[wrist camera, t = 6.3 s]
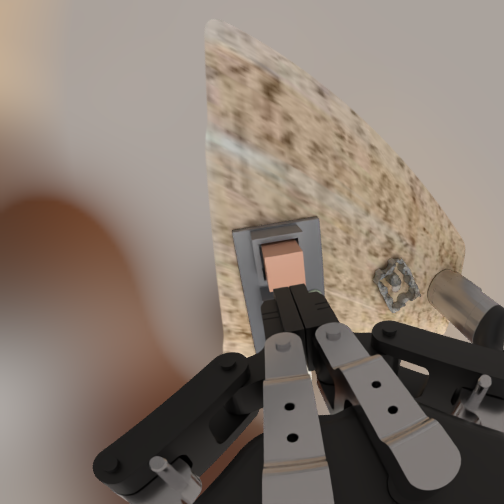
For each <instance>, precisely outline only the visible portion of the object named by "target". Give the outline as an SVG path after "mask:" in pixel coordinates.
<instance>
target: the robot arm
mask: <svg viewBox="0 0 504 504" xmlns="http://www.w3.org/2000/svg"><path fill="white" fill-rule="evenodd" d="M273 293H274V299H272V300H266V301H264V302H263V304H262V305H261V307H260V308H261V314H262V320H263V327H264V333H265V339H266V342H265V346H264V348H263V349H262V350H261V351H260V352H258V353H257V354H255V355H253V356H251V357H248V358H246V357H245V356H244V355H242V354H240V353H235V352H231V353H225V354H222V355H220V356H218V357H216V358H215V359H214V360H212V361H211V362H210V363H209V364H208V365H207V366H206V367H205V368H204V369H202V370H201V371H200V372H199V373H198V374H197V375H196V376H194V377H193V378H192V379H191V380H190V381H189V382H187V383H186V384H185V385H184V386H183V387H182V388H181V389H180V390H178V391H177V392H176V393H175V394H173V395H172V396H171V397H170V398H169V399H167V400H166V401H165V402H164V403H163V404H162V405H160V406H159V407H158V408H157V409H155V410H154V411H153V412H152V413H151V414H149V415H148V416H147V417H146V418H144V419H143V420H142V421H141V422H139V423H138V424H137V425H136V426H134V427H133V428H132V429H130V430H129V431H128V432H127V433H126V434H124V435H123V436H121V437H120V438H119V439H118V440H116V441H115V442H114V443H112V444H111V445H110V446H108V447H107V448H106V449H104V450H103V451H102V452H100V453H99V454H98V455H97V457H96V458H95V460H94V462H93V471H94V474H95V476H96V477H97V478H98V479H99V480H100V481H101V482H102V483H104V484H105V485H107V486H108V487H109V488H110V489H111V490H112V491H113V492H115V493H116V494H117V495H119V496H120V497H122V498H123V499H125V500H127V501H128V502H129V503H130V504H504V350H503V346H504V308H503V307H502V306H500V305H499V304H498V303H496V302H495V301H494V300H493V299H491V298H490V297H488V296H487V295H486V294H484V293H483V292H482V290H481V288H479V287H478V286H476V285H475V284H473V283H472V282H471V281H469V280H468V279H466V278H465V277H464V276H462V275H461V274H459V273H458V272H453V271H452V270H449V269H446V270H443V271H441V272H440V273H439V274H438V275H437V276H436V277H435V278H434V279H433V281H432V283H431V285H430V287H429V290H428V300H429V302H430V303H431V305H433V306H434V307H435V308H436V309H437V310H438V311H439V312H440V313H441V314H442V315H443V316H444V317H445V318H446V319H448V320H449V321H450V322H451V323H452V324H453V325H454V326H455V327H456V328H457V329H458V330H459V331H460V332H461V333H462V334H463V335H464V336H465V337H466V338H467V339H468V340H469V341H470V342H471V343H468V342H465V341H461V340H457V339H454V338H450V337H446V336H443V335H440V334H437V333H433V332H430V331H426V330H423V329H419V328H416V327H413V326H409V325H406V324H403V323H399V322H396V321H382V322H379V323H377V324H376V325H375V326H374V327H373V329H372V333H354V332H352V331H351V329H350V328H349V327H348V326H347V325H345V324H342V323H340V322H339V321H338V319H337V317H336V315H335V314H334V312H333V310H332V309H331V307H330V305H329V303H328V302H327V300H326V298H325V297H324V295H322V294H321V293H319V292H317V291H314V292H308V290H307V288H306V286H305V284H304V283H303V284H297V285H292V286H289V287H288V286H287V287H281V288H275V289H273ZM401 360H404V361H407V362H410V363H413V364H416V365H418V366H421V367H424V368H426V369H427V370H428V372H429V375H425V374H422V373H419V372H416V371H413V370H410V369H407V368H404V367H402V366H400V362H401ZM307 368H308V370H307ZM313 370H315V371H316V374H317V385H318V388H319V390H320V392H321V394H322V397H323V399H324V401H325V403H326V406H327V408H328V410H329V412H330V415H318V413H317V408H316V402H315V396H314V392H313V386H312V381H311V377H310V374H308V371H313ZM260 408H263V409H264V433H262V434H260V435H258V436H257V437H255V438H254V439H253V440H251V441H250V442H248V443H247V444H246V445H245V446H244V447H243V448H242V449H241V450H240V451H239V453H238V454H237V455H236V456H235V457H234V459H233V460H232V461H231V462H230V463H229V465H228V466H227V467H226V468H225V469H224V470H223V471H222V473H221V474H220V475H219V476H218V477H217V478H216V479H215V481H214V482H213V483H212V484H211V485H210V486H209V487H208V488H207V489H206V490H205V491H204V492H203V493H202V494H201V495H200V496H199V497H198V498H197V496H198V495H199V493H200V492H201V489H202V484H201V481H200V479H199V477H200V476H201V475H202V474H203V473H204V472H205V471H206V470H207V469H208V468H209V467H210V466H211V465H212V464H213V463H214V462H215V461H216V460H217V459H218V458H219V457H220V456H221V455H222V454H223V453H224V451H226V450H227V448H228V447H229V446H230V445H231V444H232V443H233V442H234V441H235V440H236V439H237V438H238V436H239V435H240V434H241V433H242V432H243V431H244V430H245V428H246V427H247V426H248V425H249V424H250V423H251V422H252V420H253V419H254V418H255V417H256V416H257V414H258V412H259V409H260ZM196 498H197V499H196ZM195 499H196V501H195ZM194 501H195V502H194Z"/></svg>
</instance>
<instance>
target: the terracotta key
mask: <svg viewBox="0 0 504 504" xmlns="http://www.w3.org/2000/svg"><path fill="white" fill-rule="evenodd" d="M261 249H262V255H263V262H264V268H265V274H266V279H267V283H268V287H269V291H270V292H273V289H275V288H281V287H287V286H288V287H289V286H292V285H297V284H303V283H304V284H305V286H306V281H305V270H304V259H303V251H302V249H301V248H300V246H299V245H298V243H297V242H296V241H295V239H288V240H282V241H276V242H270V243H264V244H261Z"/></svg>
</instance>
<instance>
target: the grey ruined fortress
mask: <svg viewBox="0 0 504 504" xmlns="http://www.w3.org/2000/svg"><path fill="white" fill-rule="evenodd" d="M396 262H398V263H399V264H398V270H399V271H400V272H401V273H403V274H404V281H405V282H406V283H407V284H408V285H409V292H407V293H406V294H405V293H401V294H399V296H398V297H397V302H396V303H394V304H393V298H392V297H391V296H389V294H388V291H387V290H388V289H387V287H385V286H384V285H383V284H382V283H381V282H379V281H380V280H382V279H383V278H385V279H386V281H387V282H388V283H389V284H390V285H392V291H393V292H397V291H399V289H400V287H401V285H400V284H401V280H400V278H399V276H398V275H397V274H396V273H394V272H393V270H394V267H396V265H395V263H396ZM385 275H386V276H385ZM373 281H374V282H375V284H376V285H378V287H379V290H380V292H381V294H382V295H383V297H384V300H385V302H386V304H387V306H388V308H389V309H390V311H391V312H392V313H395V312H397V311H399V310H400V308H401V307H403V306H405V305H406V304H405V303H406V302H407V301H408V300H410V301H413V300H414V299H416V298H417V297H418V296H420V297H421V294H420V291H419V288H418V286H417V284H416V283H415V280H414V278H413V276H412V273H411V271H410V269H409V268H408V266H407V265H406V264H405V262H404V261H403V260H402V258H401V260H399V259H393V258H390V259H389V260H388V266H387V268H386V269H384V270H380V269H377V270H376V271H375V277H374V279H373Z"/></svg>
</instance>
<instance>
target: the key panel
mask: <svg viewBox="0 0 504 504" xmlns="http://www.w3.org/2000/svg"><path fill="white" fill-rule="evenodd" d="M232 234H233V239H234V244H235V250H236V255H237V260H238V265H239V270H240V275H241V281H242V286H243V291H244V296H245V301H246V306H247V311H248V316H249V321H250V325H251V330H252V335H253V340H254V345H255V350H256V354H257V353H258V352H260V351H261V350H262V349H263V348H264V346H265V342H266V339H265V333H264V327H263V320H262V314H261V308H260V307H261V305H262V304H263V302H264V301H266V300H272V299H274V293H273V292H270V291H269V287H268V283H267V279H266V274H265V268H264V262H263V255H262V249H261V244H264V243H270V242H276V241H282V240H288V239H295V241H296V242H297V243H298V245H299V246H300V248H301V249H302V251H303V259H304V270H305V281H306V288H307V290H308V292H314V291H317V292H319V293H321V294H322V295H324V276H323V260H322V246H321V234H320V223H319V218H318V217H311V218H304V219H298V220H291V221H285V222H279V223H273V224H267V225H261V226H255V227H249V228H243V229H237V230H232ZM324 297H325V296H324Z"/></svg>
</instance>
